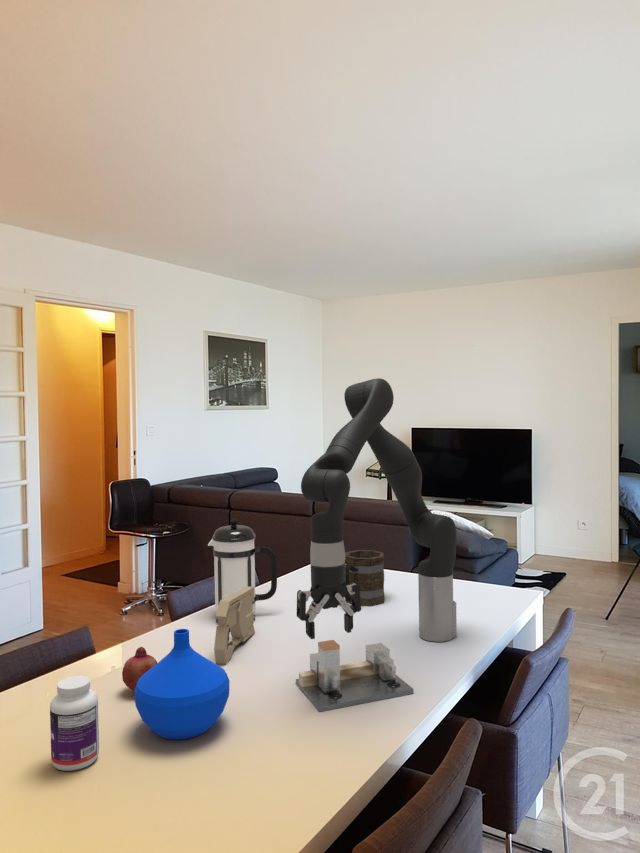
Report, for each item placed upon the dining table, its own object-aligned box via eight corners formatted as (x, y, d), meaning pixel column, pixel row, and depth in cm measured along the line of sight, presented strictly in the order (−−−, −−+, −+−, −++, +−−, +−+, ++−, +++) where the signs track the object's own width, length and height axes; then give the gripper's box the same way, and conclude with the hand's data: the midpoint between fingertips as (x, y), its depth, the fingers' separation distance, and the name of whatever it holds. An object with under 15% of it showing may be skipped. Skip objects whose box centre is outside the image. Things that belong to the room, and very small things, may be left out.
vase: (185, 761, 116) (182, 655, 115) (114, 735, 126) (112, 637, 125) (249, 719, 131) (247, 625, 131) (182, 698, 141) (180, 611, 140)
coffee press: (234, 630, 184) (232, 524, 183) (200, 618, 195) (198, 518, 194) (279, 615, 197) (277, 516, 196) (244, 604, 208) (242, 511, 207)
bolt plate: (382, 668, 156) (382, 663, 156) (413, 693, 142) (413, 688, 142) (295, 683, 148) (295, 678, 148) (319, 711, 134) (319, 706, 134)
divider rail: (386, 667, 154) (386, 657, 154) (391, 671, 151) (391, 661, 151) (298, 683, 146) (298, 672, 146) (302, 687, 144) (302, 676, 143)
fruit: (120, 688, 147) (119, 644, 147) (156, 681, 150) (155, 638, 150) (124, 702, 140) (123, 656, 139) (163, 695, 143) (162, 650, 143)
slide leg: (326, 674, 149) (325, 632, 149) (345, 693, 139) (344, 648, 139) (310, 677, 148) (309, 635, 148) (327, 697, 138) (327, 651, 138)
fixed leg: (381, 665, 154) (380, 642, 154) (402, 682, 144) (402, 658, 144) (365, 668, 153) (365, 645, 153) (386, 685, 143) (386, 661, 143)
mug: (356, 592, 220) (356, 548, 220) (393, 597, 213) (392, 552, 213) (326, 608, 203) (325, 560, 203) (365, 614, 196) (364, 565, 196)
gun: (225, 666, 158) (226, 604, 159) (212, 666, 159) (213, 603, 160) (255, 640, 182) (255, 586, 183) (244, 639, 183) (244, 585, 183)
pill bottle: (59, 750, 120) (57, 673, 120) (104, 748, 121) (102, 671, 120) (44, 775, 112) (42, 692, 112) (92, 772, 113) (90, 690, 112)
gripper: (350, 553, 147) (352, 624, 148) (291, 561, 142) (293, 634, 143) (364, 561, 140) (366, 635, 141) (302, 569, 135) (305, 646, 136)
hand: (329, 634), depth 142 cm, fingers open, 8 cm apart
